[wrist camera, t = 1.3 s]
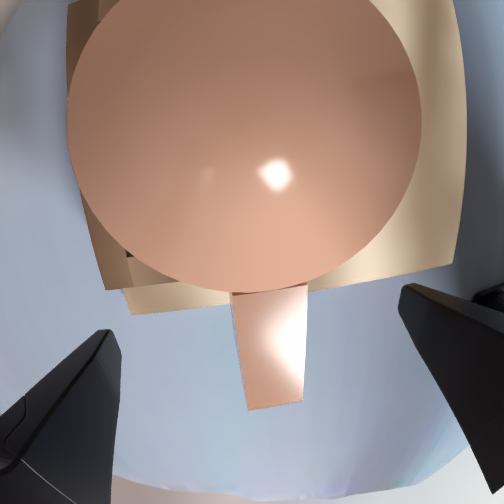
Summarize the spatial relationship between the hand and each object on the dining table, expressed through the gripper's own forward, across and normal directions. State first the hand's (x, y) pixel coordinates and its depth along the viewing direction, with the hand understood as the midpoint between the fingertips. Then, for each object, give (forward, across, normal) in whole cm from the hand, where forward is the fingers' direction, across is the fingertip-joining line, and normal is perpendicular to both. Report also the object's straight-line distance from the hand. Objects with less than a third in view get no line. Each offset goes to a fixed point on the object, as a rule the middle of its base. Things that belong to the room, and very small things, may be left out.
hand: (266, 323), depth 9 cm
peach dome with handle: (+5, 0, -4) cm, 6 cm away
